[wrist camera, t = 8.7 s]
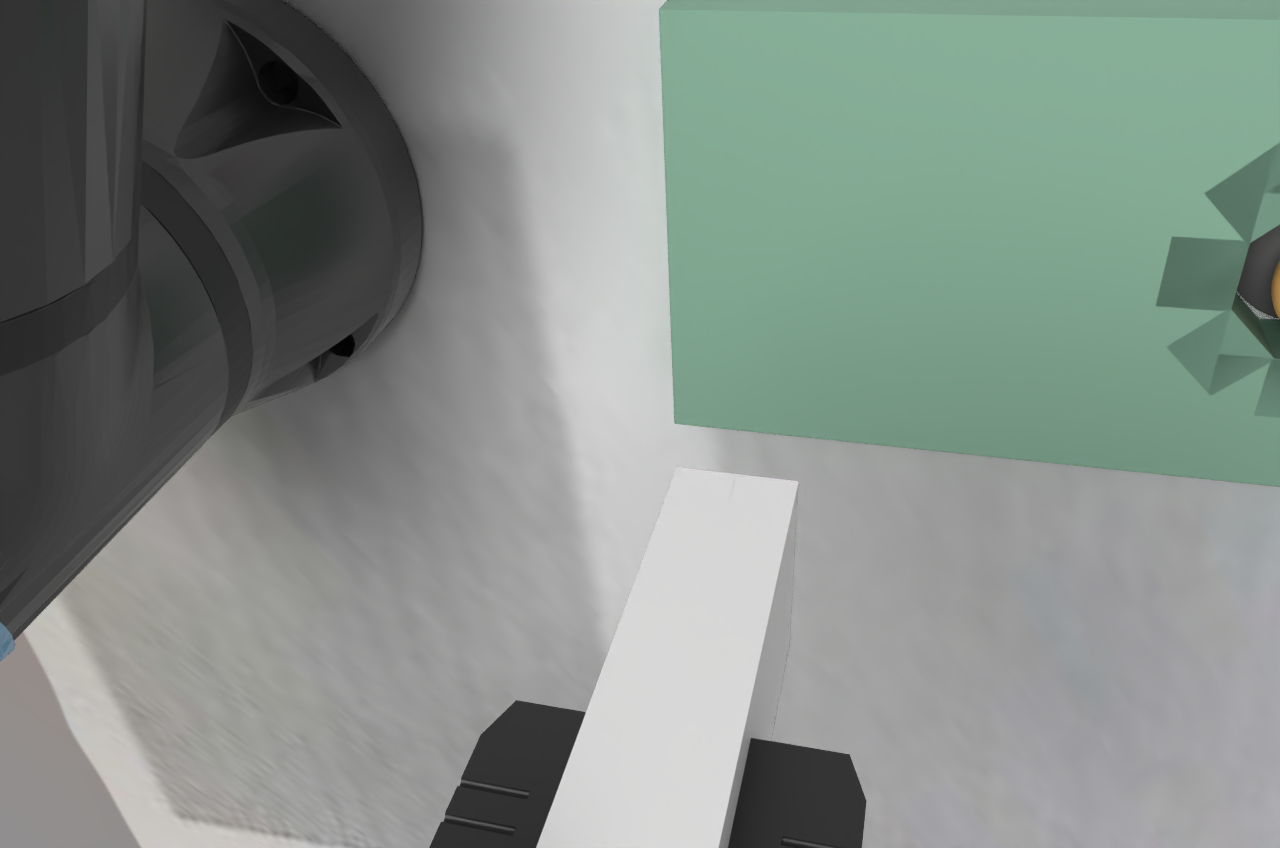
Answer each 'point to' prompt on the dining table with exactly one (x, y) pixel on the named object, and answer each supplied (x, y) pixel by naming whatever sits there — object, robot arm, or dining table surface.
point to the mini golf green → (979, 226)
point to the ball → (1276, 290)
